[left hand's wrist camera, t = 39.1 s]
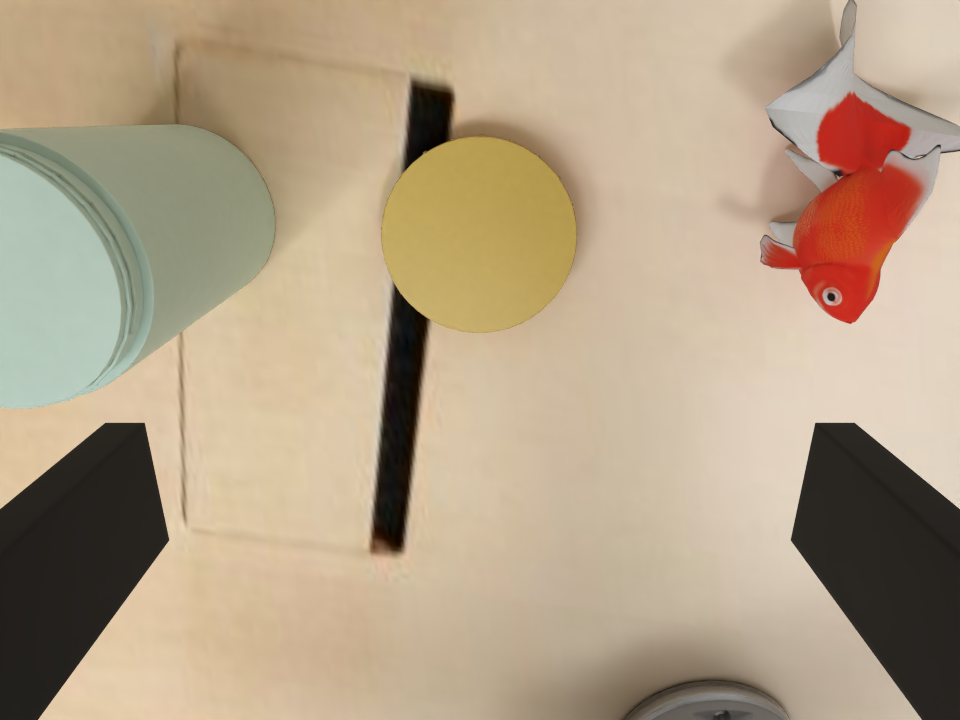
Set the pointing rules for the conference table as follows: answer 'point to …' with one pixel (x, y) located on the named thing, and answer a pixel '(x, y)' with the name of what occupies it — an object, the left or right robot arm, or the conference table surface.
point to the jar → (116, 248)
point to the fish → (852, 178)
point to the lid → (479, 234)
